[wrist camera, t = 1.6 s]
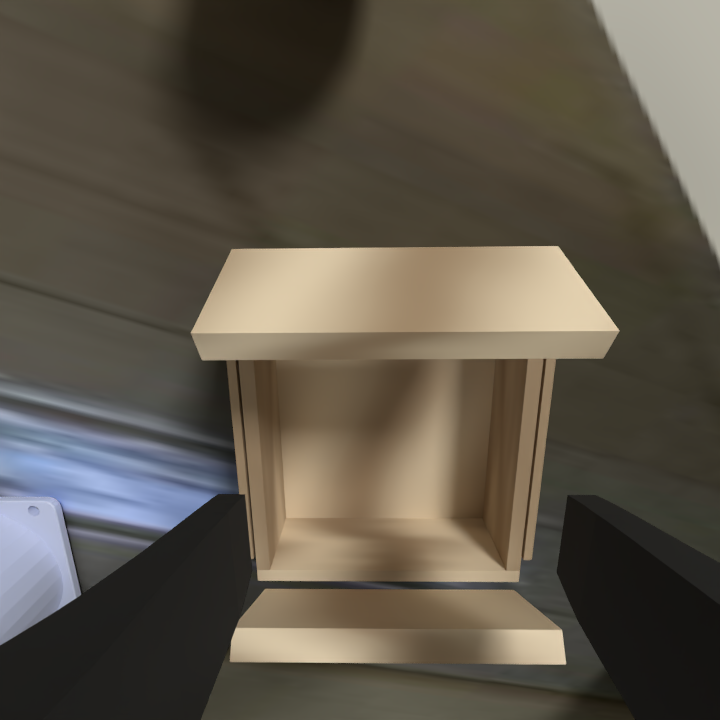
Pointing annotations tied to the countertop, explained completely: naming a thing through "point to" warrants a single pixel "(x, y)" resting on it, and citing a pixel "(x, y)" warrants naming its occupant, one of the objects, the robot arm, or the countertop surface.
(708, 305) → the countertop surface
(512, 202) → the countertop surface
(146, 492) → the countertop surface
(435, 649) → the flap
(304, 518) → the carton
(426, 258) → the flap
